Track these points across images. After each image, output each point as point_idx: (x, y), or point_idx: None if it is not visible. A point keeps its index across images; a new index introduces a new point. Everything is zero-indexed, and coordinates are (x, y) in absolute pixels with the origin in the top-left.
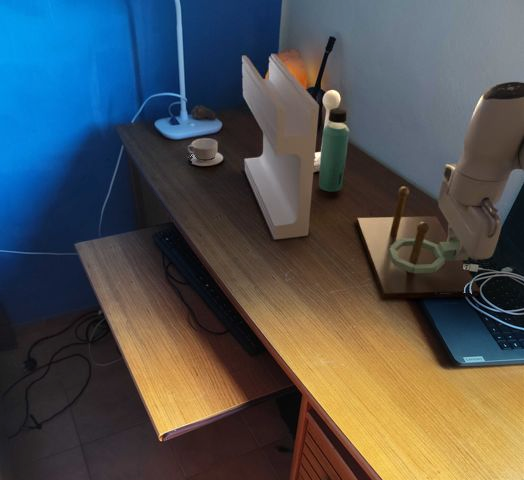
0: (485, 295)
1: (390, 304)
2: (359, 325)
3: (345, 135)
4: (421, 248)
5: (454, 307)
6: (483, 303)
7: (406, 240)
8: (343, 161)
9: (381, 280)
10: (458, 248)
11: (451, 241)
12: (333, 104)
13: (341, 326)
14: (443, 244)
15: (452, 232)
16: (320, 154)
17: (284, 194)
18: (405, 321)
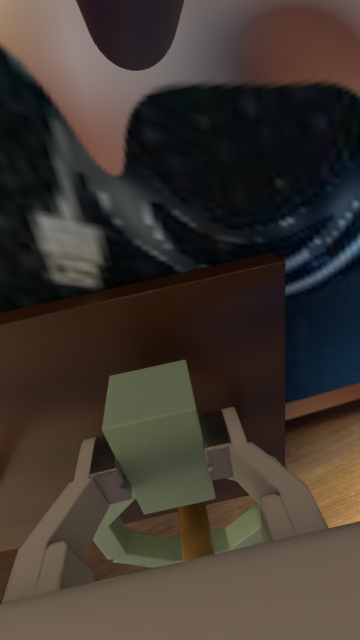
0: (265, 218)
1: (295, 457)
2: (351, 489)
3: None
4: (40, 435)
5: (321, 331)
6: (312, 235)
7: (118, 551)
8: None
9: (235, 496)
10: (254, 498)
11: (128, 484)
12: None
13: (348, 507)
14: (165, 504)
15: (85, 527)
16: None
17: None
18: (355, 430)
